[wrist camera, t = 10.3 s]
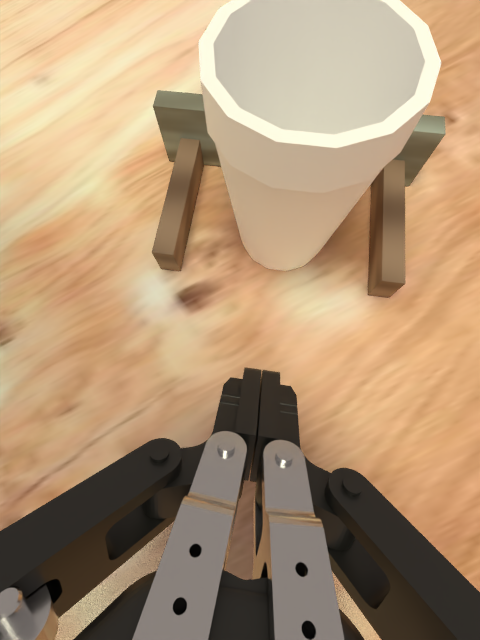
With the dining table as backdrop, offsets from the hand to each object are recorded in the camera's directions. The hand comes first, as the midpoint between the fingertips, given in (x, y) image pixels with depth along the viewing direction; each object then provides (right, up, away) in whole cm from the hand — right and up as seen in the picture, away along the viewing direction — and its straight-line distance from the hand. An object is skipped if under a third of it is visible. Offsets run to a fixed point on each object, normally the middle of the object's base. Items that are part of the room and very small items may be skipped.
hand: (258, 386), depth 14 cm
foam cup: (+2, +9, +12) cm, 15 cm away
